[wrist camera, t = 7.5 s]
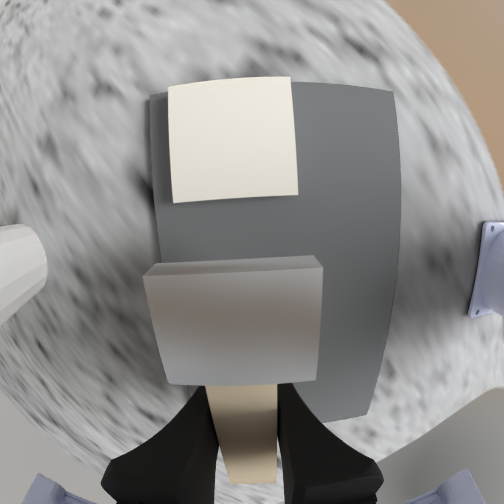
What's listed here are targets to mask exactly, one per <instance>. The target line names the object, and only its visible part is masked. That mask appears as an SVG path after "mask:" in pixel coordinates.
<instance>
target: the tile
mask: <svg viewBox="0 0 504 504" xmlns="http://www.w3.org/2000/svg"><path fill="white" fill-rule="evenodd" d="M168 122H169V148H170V166H171V181H172V194H173V203H180V202H191V201H203V200H215V199H229V198H245V197H263V196H285V195H298V178H297V159H296V142H295V128H294V115H293V102H292V91H291V81H290V77H251V78H234V79H223V80H213V81H204V82H196V83H189V84H183V85H177V86H171V87H168Z"/></svg>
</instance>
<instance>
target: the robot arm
mask: <svg viewBox="0 0 504 504" xmlns="http://www.w3.org/2000/svg"><path fill="white" fill-rule="evenodd" d="M494 311H495V312H497V313H498V314H499V315H501V316H502V317H504V222H492V221H487V222H485V223H484V224H483V229H482V239H481V248H480V255H479V262H478V268H477V274H476V279H475V285H474V290H473V294H472V299H471V303H470V307H469V311H468V316H469V317H470V318H475V317H478V316H482V315H485V314H488V313H491V312H494ZM277 437H278V442H279V447H280V453H281V459H282V468H283V482H284V497H285V504H376V502H377V497H376V494H375V493H376V492H377V490H378V489H379V488H380V487H381V485H382V483H383V482H384V479H383V475H382V473H381V471H380V469H379V468H378V466H377V464H376V462H375V461H374V460H373V459H371V458H369V457H367V456H365V455H363V454H361V453H360V452H358V451H356V450H355V449H353V448H352V447H350V446H349V445H347V444H346V443H344V442H343V441H342V440H341V439H339V438H338V437H337V436H335V435H334V434H333V433H332V432H331V431H330V430H328V429H327V428H326V427H325V426H324V425H323V424H322V423H321V422H320V421H319V420H318V419H317V417H316V416H315V415H314V414H313V413H312V412H311V410H310V409H309V408H308V407H307V405H306V404H305V402H304V401H303V400H302V398H301V397H300V395H299V394H298V392H297V390H296V389H295V387H294V385H293V383H282V384H277ZM218 449H219V441H218V438H217V434H216V430H215V426H214V422H213V418H212V414H211V410H210V405H209V401H208V397H207V392H206V388H205V386H200V385H199V386H198V388H197V389H196V391H195V392H194V394H193V395H192V396H191V398H190V399H189V400H188V402H187V403H186V404H185V406H184V407H183V408H182V409H181V410H180V411H179V413H178V414H177V415H176V416H175V417H174V418H173V419H172V420H171V421H170V422H169V423H168V424H167V425H166V426H165V427H164V428H163V429H162V430H160V431H159V432H158V433H157V434H155V435H154V436H153V437H152V438H150V439H149V440H148V441H146V442H145V443H143V444H141V445H140V446H138V447H137V448H135V449H133V450H132V451H130V452H128V453H126V454H124V455H121V456H119V457H117V458H115V459H112V460H111V462H110V463H109V465H108V467H107V469H106V471H105V473H104V476H103V478H102V481H101V486H102V487H103V489H104V490H105V491H106V492H107V493H108V494H109V495H110V496H111V497H112V498H113V499H115V500H116V501H117V503H116V504H214V489H215V470H216V460H217V454H218ZM22 504H96V503H93V502H91V501H88V500H85V499H83V498H81V497H78V496H76V495H74V494H71V493H69V492H67V491H65V489H64V488H63V487H62V486H61V485H59V484H58V483H56V482H55V481H53V480H51V479H49V478H47V477H45V476H43V475H41V474H39V473H38V474H37V476H36V478H35V479H34V481H33V483H32V485H31V487H30V489H29V491H28V492H27V494H26V496H25V498H24V500H23V502H22ZM401 504H485V501H484V499H483V497H482V495H481V493H480V491H479V489H478V487H477V485H476V484H475V482H474V480H473V478H472V476H471V475H470V473H469V471H468V469H464V470H462V471H460V472H458V473H457V474H455V475H453V476H451V477H449V478H447V479H446V480H444V481H443V482H442V483H440V485H439V486H438V487H437V488H436V489H434V490H432V491H430V492H428V493H426V494H423V495H421V496H418V497H416V498H414V499H411V500H409V501H406V502H403V503H401Z"/></svg>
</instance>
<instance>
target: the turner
mask: <svg viewBox="0 0 504 504" xmlns="http://www.w3.org/2000/svg"><path fill="white" fill-rule="evenodd" d="M142 278H143V283H144V288H145V293H146V298H147V303H148V308H149V312H150V317H151V321H152V325H153V329H154V334H155V338H156V342H157V345H158V349H159V353H160V357H161V360H162V364H163V367H164V371H165V374H166V377H167V381H168V384H176V385H200V386H205V388H206V392H207V397H208V401H209V405H210V410H211V414H212V418H213V422H214V426H215V430H216V434H217V438H218V441H219V445H220V449H221V453H222V456H223V460H224V463H225V467H226V470H227V473H228V477H229V480H230V483H231V484H258V483H276V475H277V384H282V383H294V382H304V381H313V380H316V374H317V363H318V352H319V339H320V325H321V307H322V284H323V267H322V265H321V264H320V263H319V261H318V260H317V259H316V258H315V256H314V255H308V256H290V257H272V258H253V259H235V260H215V261H195V262H175V263H156V264H154V265H153V266H152V267H151V268H150V269H149V270H148V271H147V272H146V273H145V274H144V275H143V276H142Z"/></svg>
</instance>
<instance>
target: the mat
mask: <svg viewBox="0 0 504 504" xmlns="http://www.w3.org/2000/svg"><path fill="white" fill-rule="evenodd" d="M291 91H292V102H293V115H294V128H295V142H296V159H297V178H298V195H285V196H263V197H245V198H229V199H215V200H203V201H191V202H180V203H173V194H172V181H171V166H170V148H169V122H168V92H166V93H160V94H155V95H150V146H151V166H152V181H153V193H154V204H155V214H156V223H157V232H158V240H159V247H160V255H161V262H162V263H175V262H195V261H215V260H235V259H253V258H272V257H290V256H308V255H314V256H315V258H316V259H317V260H318V261H319V263H320V264H321V265H322V267H323V284H322V307H321V325H320V339H319V352H318V363H317V374H316V380H313V381H304V382H294V383H293V385H294V387H295V389H296V390H297V392H298V394H299V395H300V397H301V398H302V400H303V401H304V402H305V404H306V405H307V407H308V408H309V409H310V410H311V412H312V413H313V414H314V415H315V416H316V417H317V419H318V420H319V421H320V422H321V423H325V422H332V421H337V420H343V419H348V418H353V417H358V416H363V415H367V412H368V409H369V406H370V403H371V399H372V396H373V392H374V389H375V385H376V382H377V378H378V374H379V370H380V366H381V362H382V357H383V353H384V348H385V344H386V339H387V334H388V329H389V323H390V317H391V311H392V305H393V298H394V291H395V283H396V274H397V265H398V254H399V240H400V219H401V171H400V150H399V136H398V126H397V116H396V108H395V101H394V94H393V92H391V91H386V90H380V89H373V88H366V87H358V86H350V85H340V84H328V83H310V82H291ZM198 386H199V385H187V388H188V391H189V395H190V398H191V396H192V395H193V394H194V392H195V391H196V389H197V388H198Z"/></svg>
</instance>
